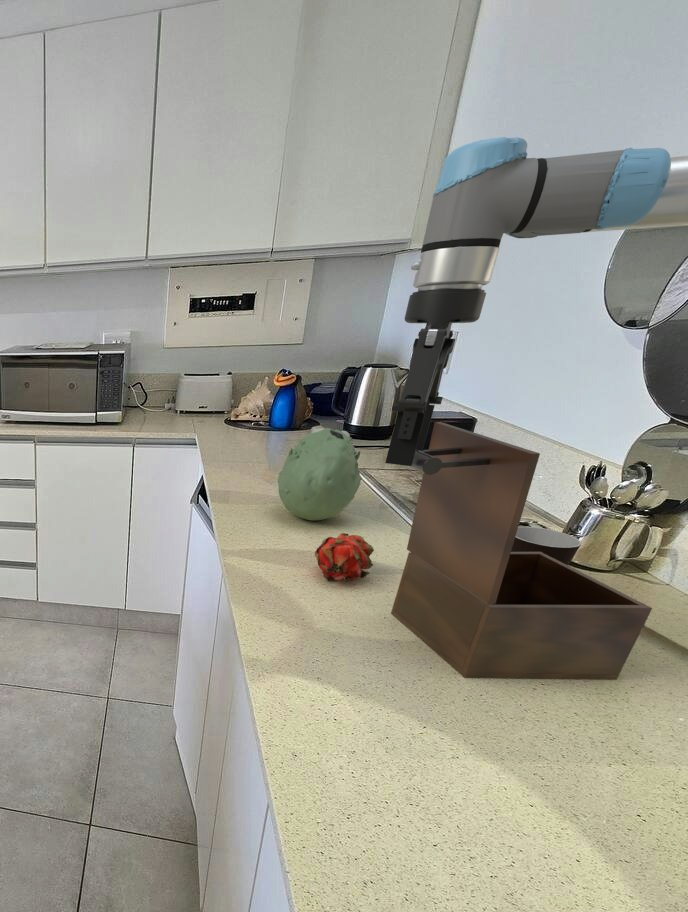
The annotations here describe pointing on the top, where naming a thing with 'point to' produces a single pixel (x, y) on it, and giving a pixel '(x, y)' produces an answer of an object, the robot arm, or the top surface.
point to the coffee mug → (546, 543)
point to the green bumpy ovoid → (320, 474)
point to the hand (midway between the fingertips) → (404, 458)
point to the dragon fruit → (344, 557)
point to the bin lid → (470, 506)
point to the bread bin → (522, 621)
